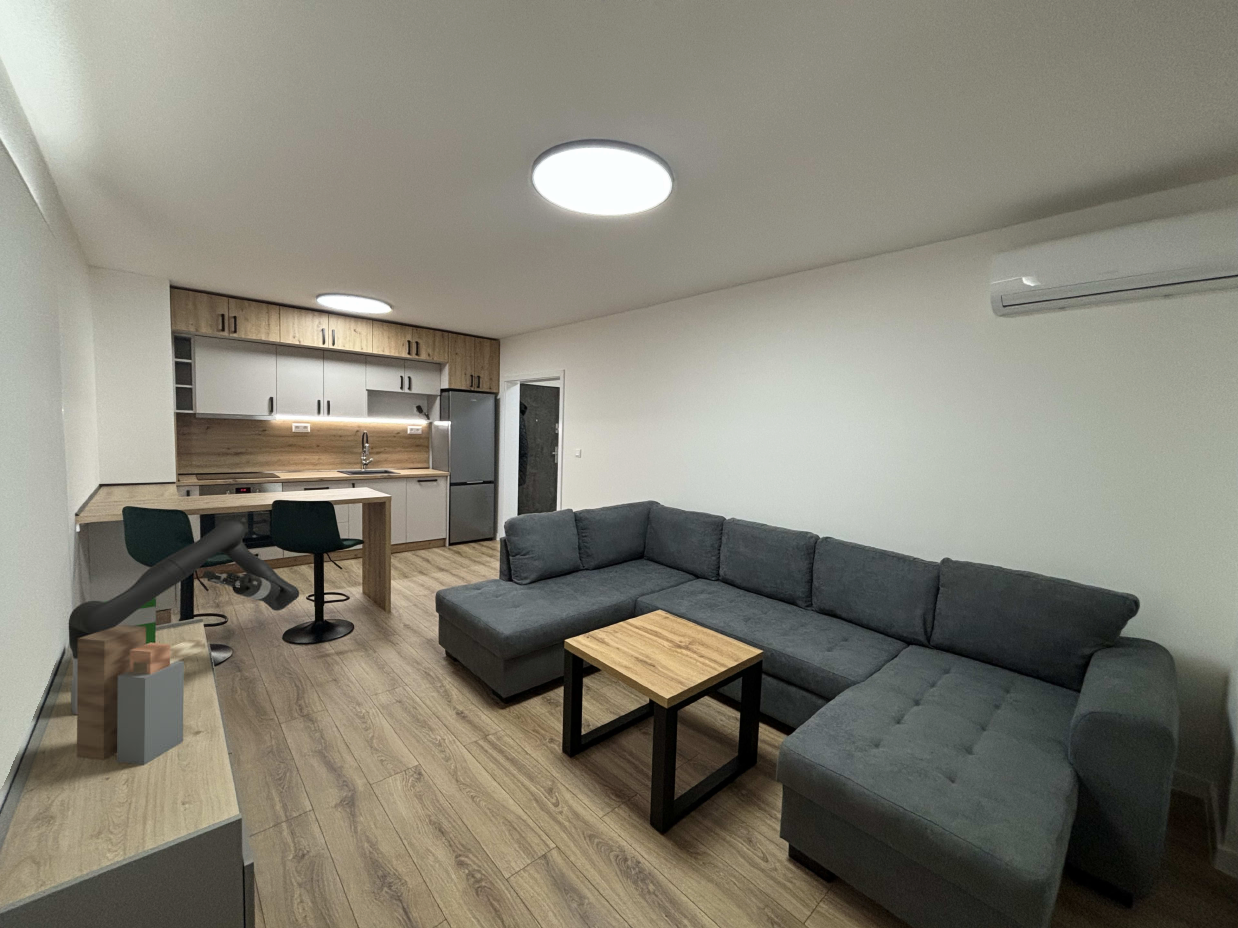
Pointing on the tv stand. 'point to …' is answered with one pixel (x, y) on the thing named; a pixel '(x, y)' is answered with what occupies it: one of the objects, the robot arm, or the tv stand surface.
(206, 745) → the tv stand surface
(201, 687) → the tv stand surface
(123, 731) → the tall grey block
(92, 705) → the tall stand
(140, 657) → the two-tone block
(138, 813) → the tv stand surface
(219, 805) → the tv stand surface
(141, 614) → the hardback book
